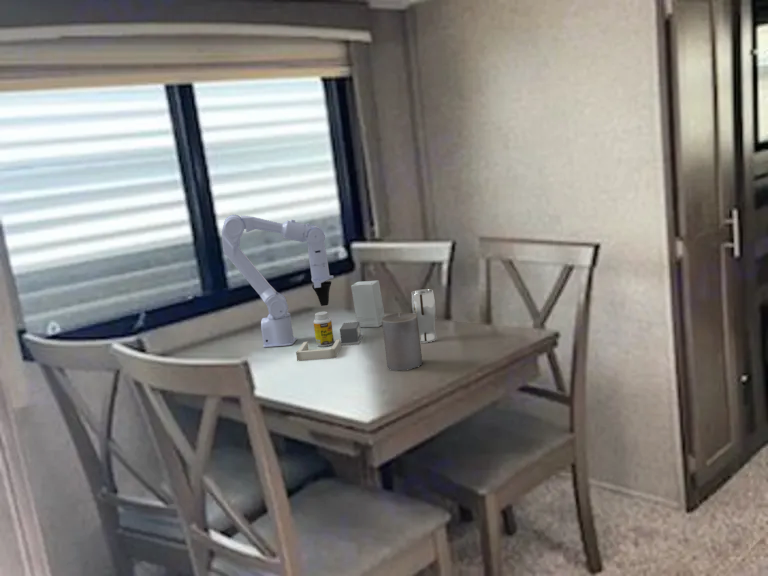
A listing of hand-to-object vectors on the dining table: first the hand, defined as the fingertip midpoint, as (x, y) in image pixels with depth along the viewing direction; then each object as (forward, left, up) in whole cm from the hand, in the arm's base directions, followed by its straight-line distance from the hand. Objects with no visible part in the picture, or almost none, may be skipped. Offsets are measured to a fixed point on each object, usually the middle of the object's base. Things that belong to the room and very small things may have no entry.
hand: (324, 305), depth 248 cm
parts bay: (+1, -19, -10) cm, 22 cm away
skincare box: (+13, +10, -11) cm, 19 cm away
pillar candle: (+28, -38, -11) cm, 48 cm away
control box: (+9, -8, -10) cm, 16 cm away
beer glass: (+33, -14, -11) cm, 37 cm away
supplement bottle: (+1, -10, -11) cm, 15 cm away
